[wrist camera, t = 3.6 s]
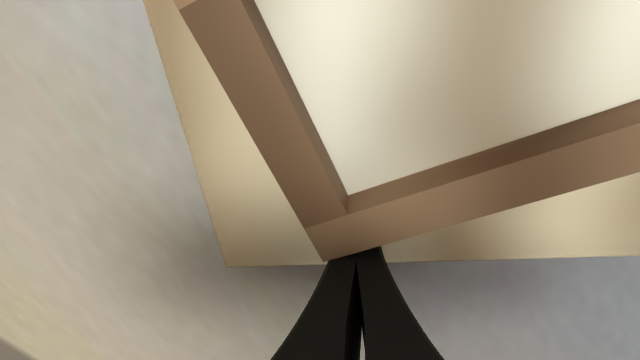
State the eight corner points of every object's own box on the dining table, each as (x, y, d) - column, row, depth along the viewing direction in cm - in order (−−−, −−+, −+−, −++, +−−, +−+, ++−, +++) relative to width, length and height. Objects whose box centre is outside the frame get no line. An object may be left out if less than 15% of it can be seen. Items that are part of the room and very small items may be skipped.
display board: (1266, -747, 5) (1481, -912, 4) (737, 229, 12) (767, 251, 11) (44, -412, 7) (-3, -467, 6) (234, 247, 14) (226, 267, 13)
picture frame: (931, -510, 5) (1155, -689, 4) (828, 69, 8) (920, 91, 7) (175, -56, 8) (139, -58, 7) (327, 225, 12) (323, 262, 10)
